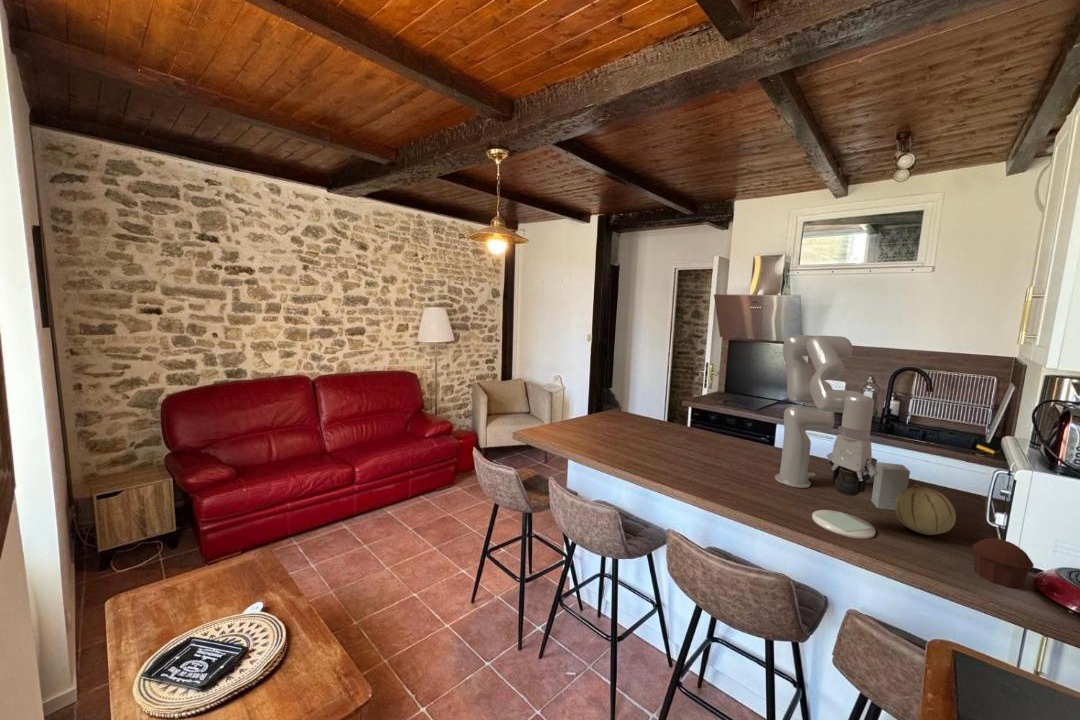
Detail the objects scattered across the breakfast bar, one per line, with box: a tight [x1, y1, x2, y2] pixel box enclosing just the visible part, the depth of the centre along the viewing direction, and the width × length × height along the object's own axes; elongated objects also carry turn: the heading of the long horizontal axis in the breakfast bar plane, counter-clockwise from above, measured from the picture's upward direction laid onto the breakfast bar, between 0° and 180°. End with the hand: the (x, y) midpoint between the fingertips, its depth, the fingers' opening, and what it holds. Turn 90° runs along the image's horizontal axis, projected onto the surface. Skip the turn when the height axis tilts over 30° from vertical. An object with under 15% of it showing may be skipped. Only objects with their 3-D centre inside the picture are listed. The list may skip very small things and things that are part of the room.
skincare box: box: [870, 461, 911, 511], centre depth 157 cm, size 8×7×16 cm
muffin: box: [972, 537, 1035, 589], centre depth 116 cm, size 12×11×10 cm
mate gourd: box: [834, 467, 861, 497], centre depth 141 cm, size 7×8×10 cm
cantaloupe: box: [894, 484, 957, 536], centre depth 140 cm, size 15×15×15 cm
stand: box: [811, 509, 876, 540], centre depth 143 cm, size 17×17×1 cm
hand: (847, 486), depth 141 cm, fingers closed on mate gourd, 7 cm apart
